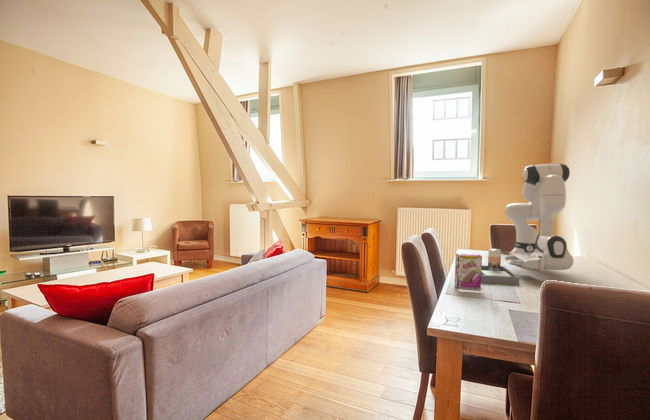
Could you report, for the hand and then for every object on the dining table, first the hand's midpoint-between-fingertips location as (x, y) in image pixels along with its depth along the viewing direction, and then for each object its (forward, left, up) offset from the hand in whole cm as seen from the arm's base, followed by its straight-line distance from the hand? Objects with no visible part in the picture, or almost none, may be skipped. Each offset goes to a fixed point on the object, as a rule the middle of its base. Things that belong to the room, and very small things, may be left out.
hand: (508, 259), depth 179 cm
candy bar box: (+24, -25, -10) cm, 36 cm away
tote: (+5, -9, -10) cm, 14 cm away
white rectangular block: (+10, -9, -9) cm, 16 cm away
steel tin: (0, -7, -9) cm, 11 cm away
